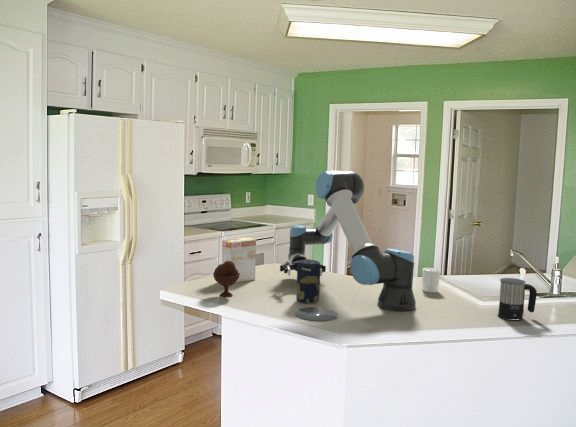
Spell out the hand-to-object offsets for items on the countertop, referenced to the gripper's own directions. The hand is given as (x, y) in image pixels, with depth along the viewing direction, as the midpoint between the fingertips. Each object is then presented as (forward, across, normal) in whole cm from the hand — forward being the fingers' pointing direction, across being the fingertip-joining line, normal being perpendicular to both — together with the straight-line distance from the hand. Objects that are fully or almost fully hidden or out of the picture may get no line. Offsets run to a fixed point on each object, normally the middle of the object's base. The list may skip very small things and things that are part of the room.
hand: (305, 272), depth 233 cm
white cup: (-10, -59, -10) cm, 61 cm away
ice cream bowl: (+1, +33, -10) cm, 35 cm away
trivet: (+27, -1, -10) cm, 29 cm away
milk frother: (+26, -79, -10) cm, 84 cm away
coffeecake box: (-26, +28, -10) cm, 39 cm away
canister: (+10, 0, -10) cm, 14 cm away
